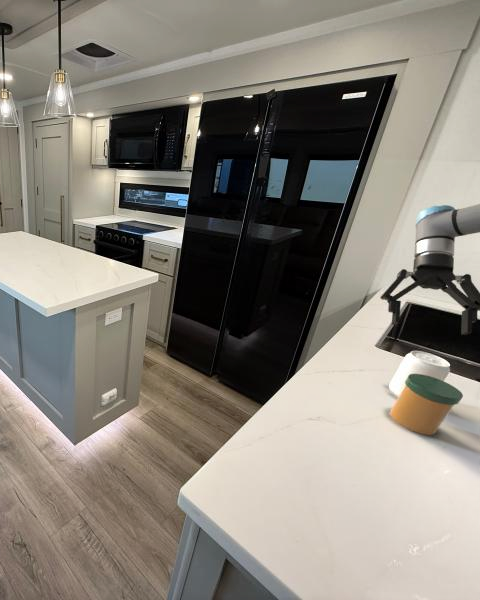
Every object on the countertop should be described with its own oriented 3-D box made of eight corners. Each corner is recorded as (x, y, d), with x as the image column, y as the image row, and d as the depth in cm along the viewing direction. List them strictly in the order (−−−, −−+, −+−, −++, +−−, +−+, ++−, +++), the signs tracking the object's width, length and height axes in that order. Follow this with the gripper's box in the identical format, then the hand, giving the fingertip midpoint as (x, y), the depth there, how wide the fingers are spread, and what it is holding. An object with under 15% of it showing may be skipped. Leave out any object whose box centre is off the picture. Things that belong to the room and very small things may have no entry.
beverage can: (426, 410, 79) (450, 371, 74) (384, 392, 85) (405, 355, 80) (431, 398, 83) (455, 361, 78) (391, 381, 89) (411, 346, 84)
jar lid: (450, 389, 72) (454, 383, 72) (466, 411, 66) (470, 404, 65) (400, 375, 77) (403, 369, 76) (410, 394, 70) (414, 387, 69)
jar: (429, 419, 76) (451, 384, 72) (440, 440, 70) (466, 404, 66) (386, 405, 80) (405, 372, 76) (393, 424, 74) (414, 389, 69)
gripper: (490, 267, 85) (489, 341, 81) (370, 259, 98) (364, 323, 93) (510, 255, 79) (510, 334, 74) (380, 248, 91) (373, 316, 87)
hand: (429, 328), depth 84 cm, fingers open, 13 cm apart
